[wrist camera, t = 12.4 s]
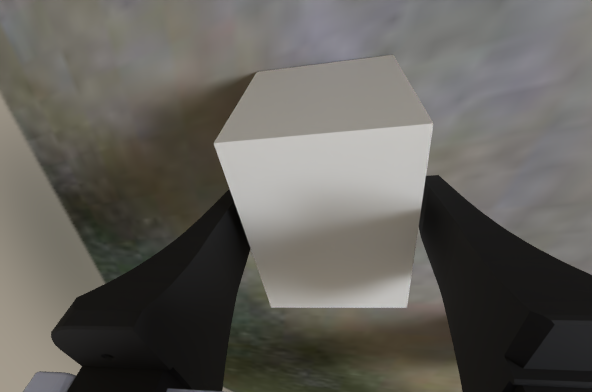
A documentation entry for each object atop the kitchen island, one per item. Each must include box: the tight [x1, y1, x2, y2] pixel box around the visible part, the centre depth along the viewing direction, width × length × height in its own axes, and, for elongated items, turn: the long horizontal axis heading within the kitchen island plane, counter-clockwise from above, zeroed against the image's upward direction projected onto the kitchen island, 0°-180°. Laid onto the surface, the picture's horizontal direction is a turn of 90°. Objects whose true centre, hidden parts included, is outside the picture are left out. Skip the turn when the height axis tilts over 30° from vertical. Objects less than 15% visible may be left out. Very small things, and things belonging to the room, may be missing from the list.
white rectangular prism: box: [214, 55, 433, 308], centre depth 13 cm, size 9×6×7 cm
